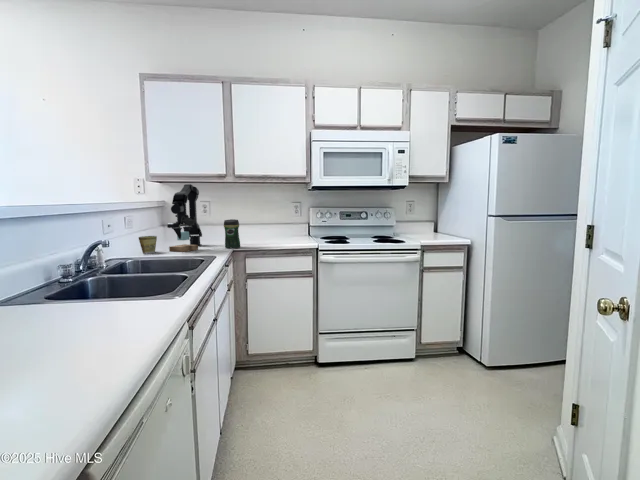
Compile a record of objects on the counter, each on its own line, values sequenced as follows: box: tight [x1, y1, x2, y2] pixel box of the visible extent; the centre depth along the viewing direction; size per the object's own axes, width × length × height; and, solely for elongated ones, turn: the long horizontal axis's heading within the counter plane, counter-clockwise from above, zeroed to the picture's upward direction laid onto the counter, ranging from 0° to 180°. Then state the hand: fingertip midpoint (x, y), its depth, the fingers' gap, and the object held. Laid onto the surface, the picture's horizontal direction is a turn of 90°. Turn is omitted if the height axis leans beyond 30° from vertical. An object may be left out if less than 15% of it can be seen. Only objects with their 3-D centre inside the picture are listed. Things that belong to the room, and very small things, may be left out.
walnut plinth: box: [168, 243, 199, 253], centre depth 221 cm, size 12×12×3 cm
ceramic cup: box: [138, 235, 158, 254], centre depth 216 cm, size 13×10×10 cm
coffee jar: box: [223, 218, 241, 249], centre depth 228 cm, size 10×8×19 cm
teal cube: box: [176, 231, 190, 241], centre depth 221 cm, size 5×5×5 cm
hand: (183, 238), depth 221 cm, fingers closed on teal cube, 5 cm apart
